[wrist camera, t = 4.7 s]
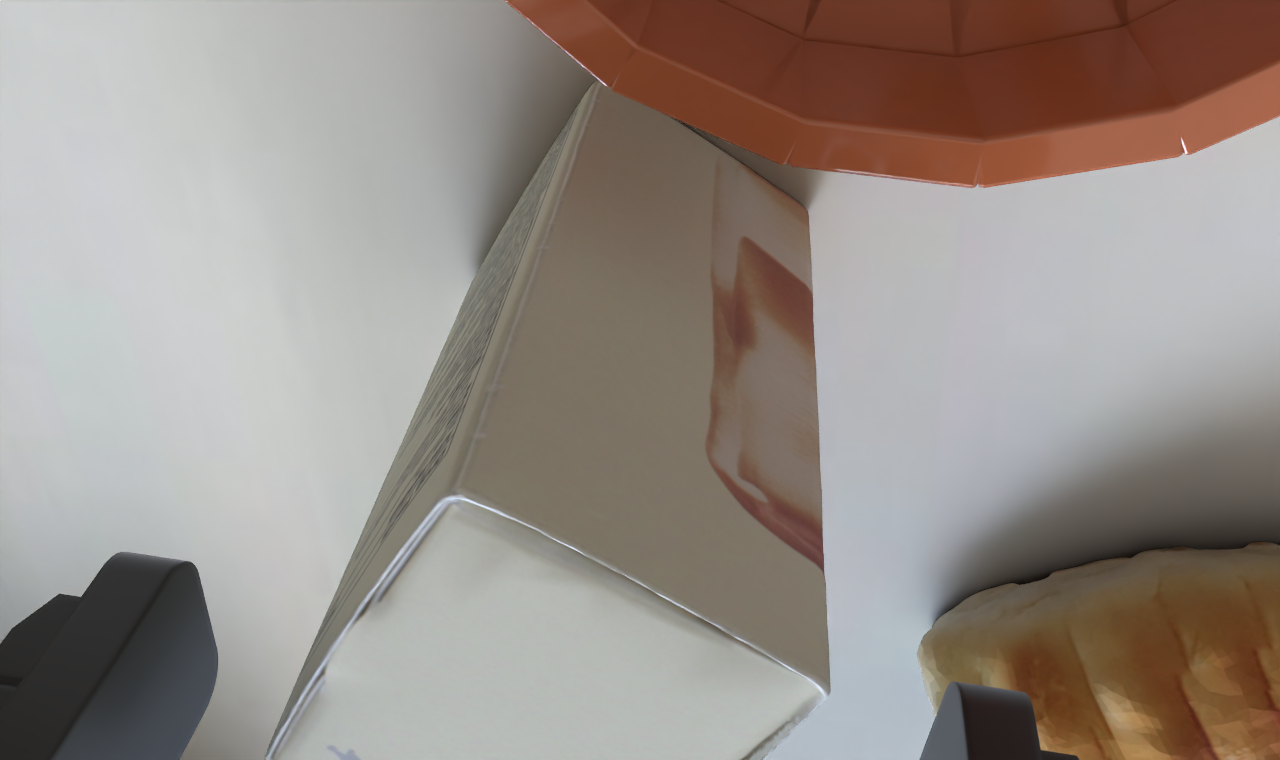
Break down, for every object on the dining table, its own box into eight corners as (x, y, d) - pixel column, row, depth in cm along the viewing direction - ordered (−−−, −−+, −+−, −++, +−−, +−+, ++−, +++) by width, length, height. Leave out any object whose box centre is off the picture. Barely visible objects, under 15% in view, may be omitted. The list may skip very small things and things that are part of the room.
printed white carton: (665, 403, 21) (578, 919, 13) (462, 287, 20) (235, 770, 12) (834, 203, 18) (854, 706, 10) (607, 56, 17) (434, 489, 9)
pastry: (1366, 444, 20) (1468, 606, 17) (1458, 665, 23) (1558, 838, 20) (887, 609, 24) (899, 764, 21) (1018, 779, 27) (1046, 938, 24)
